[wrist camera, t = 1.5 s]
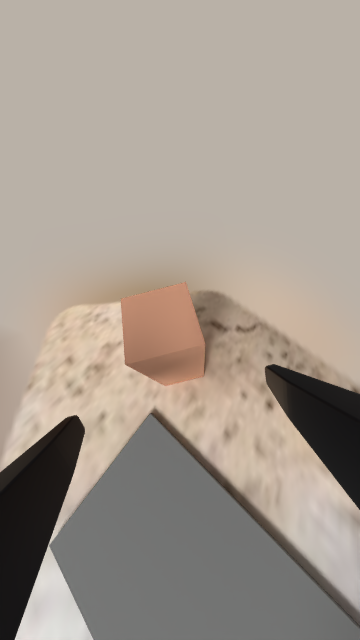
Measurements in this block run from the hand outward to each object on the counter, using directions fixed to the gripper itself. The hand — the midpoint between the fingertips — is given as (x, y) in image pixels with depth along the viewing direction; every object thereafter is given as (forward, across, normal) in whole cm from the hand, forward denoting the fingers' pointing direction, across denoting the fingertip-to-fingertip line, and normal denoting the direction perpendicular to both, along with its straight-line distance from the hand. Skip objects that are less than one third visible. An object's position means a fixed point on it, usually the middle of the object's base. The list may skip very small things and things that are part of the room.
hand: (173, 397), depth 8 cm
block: (+11, 0, +5) cm, 12 cm away
